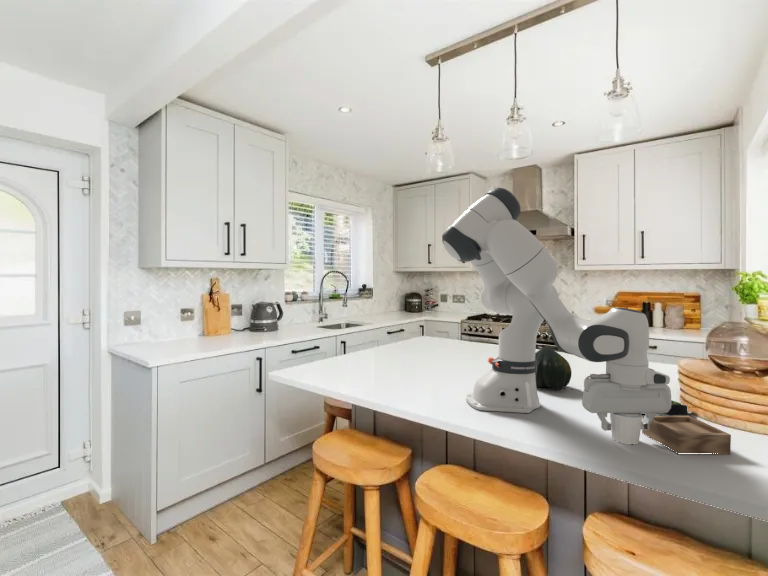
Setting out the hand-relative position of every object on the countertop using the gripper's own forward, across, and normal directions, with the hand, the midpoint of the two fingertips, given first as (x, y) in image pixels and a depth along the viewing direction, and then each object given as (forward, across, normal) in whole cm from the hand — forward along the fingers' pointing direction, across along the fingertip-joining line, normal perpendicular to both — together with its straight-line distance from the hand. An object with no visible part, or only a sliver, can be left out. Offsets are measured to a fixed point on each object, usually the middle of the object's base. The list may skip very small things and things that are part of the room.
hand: (625, 429), depth 96 cm
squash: (+3, +1, +46) cm, 46 cm away
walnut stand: (+3, +13, -2) cm, 14 cm away
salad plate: (+3, +23, +20) cm, 31 cm away
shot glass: (+3, 0, 0) cm, 3 cm away
